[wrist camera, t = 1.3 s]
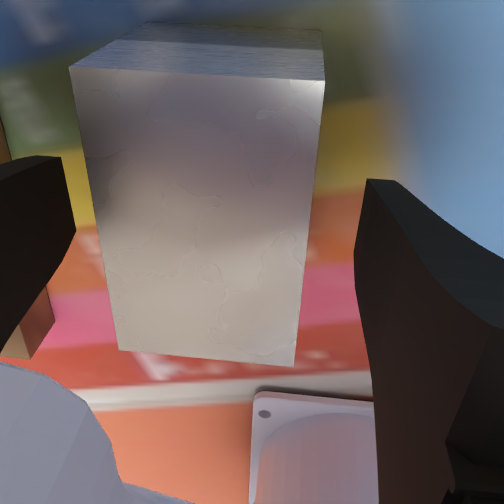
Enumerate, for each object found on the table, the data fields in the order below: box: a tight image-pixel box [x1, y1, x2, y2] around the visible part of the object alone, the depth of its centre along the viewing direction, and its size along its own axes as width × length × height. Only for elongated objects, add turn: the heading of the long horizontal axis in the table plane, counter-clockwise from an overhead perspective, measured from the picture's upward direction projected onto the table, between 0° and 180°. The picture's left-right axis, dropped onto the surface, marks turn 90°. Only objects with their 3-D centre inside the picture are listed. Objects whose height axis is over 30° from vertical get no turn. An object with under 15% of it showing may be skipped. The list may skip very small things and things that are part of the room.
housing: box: [69, 22, 325, 367], centre depth 12 cm, size 7×4×5 cm, turn 178°
